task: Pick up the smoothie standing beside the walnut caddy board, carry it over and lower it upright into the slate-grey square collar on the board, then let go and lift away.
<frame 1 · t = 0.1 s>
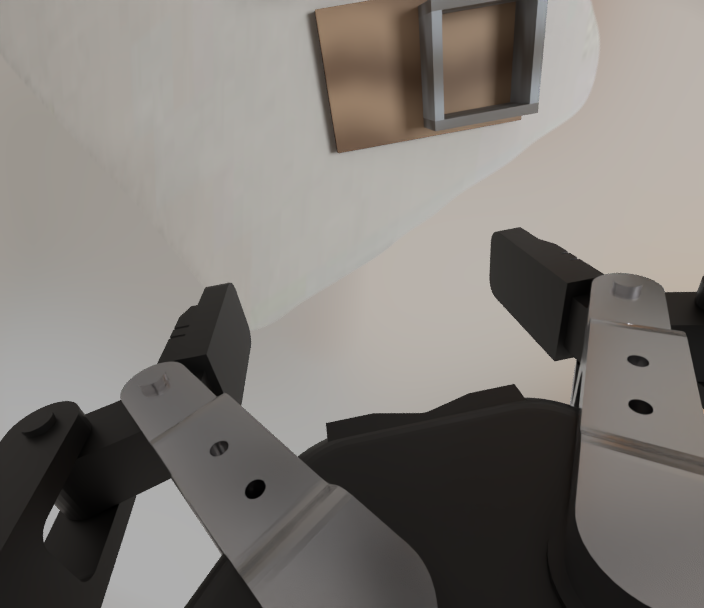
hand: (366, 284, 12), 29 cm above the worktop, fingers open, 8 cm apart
caddy: (424, 70, 35), on the worktop
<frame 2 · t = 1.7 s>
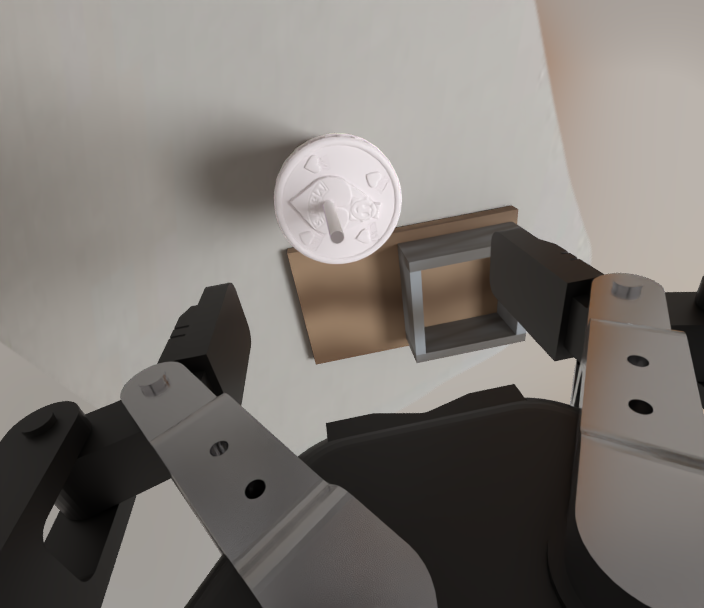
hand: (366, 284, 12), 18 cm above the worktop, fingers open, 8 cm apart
smoothie: (324, 165, 27), on the worktop
caddy: (406, 287, 33), on the worktop
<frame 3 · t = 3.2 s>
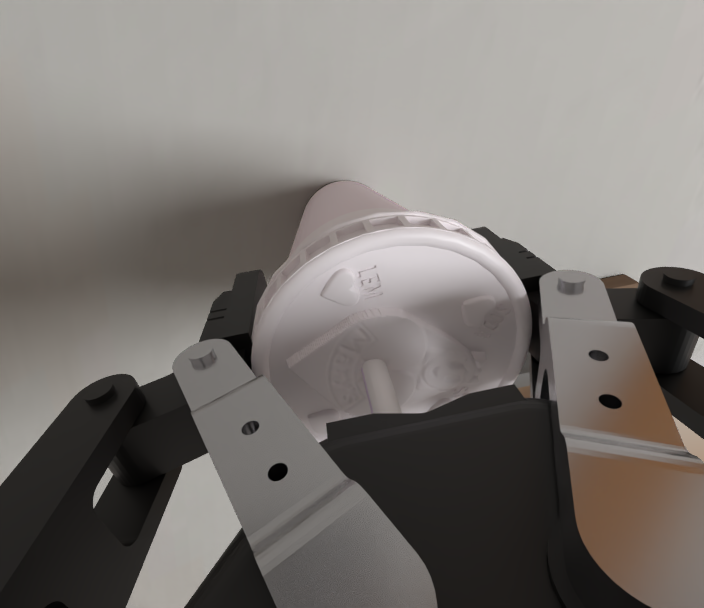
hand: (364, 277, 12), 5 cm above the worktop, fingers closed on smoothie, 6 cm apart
smoothie: (344, 222, 17), on the worktop, touching gripper
caddy: (457, 386, 23), on the worktop
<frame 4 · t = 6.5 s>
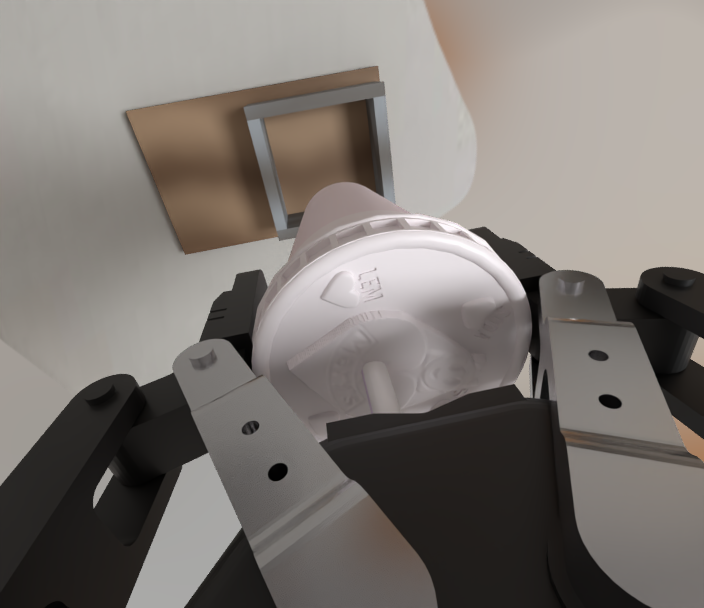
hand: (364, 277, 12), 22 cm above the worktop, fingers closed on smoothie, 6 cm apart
smoothie: (344, 223, 17), point 16 cm above the worktop, touching gripper
caddy: (273, 165, 31), on the worktop
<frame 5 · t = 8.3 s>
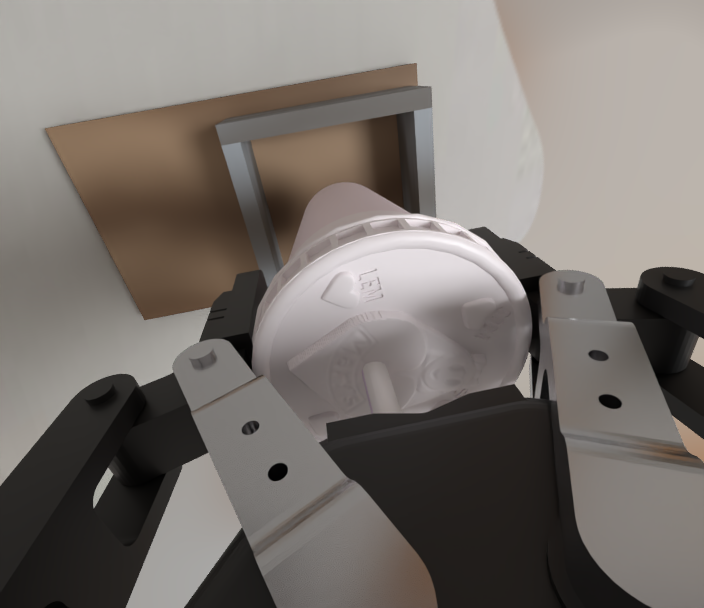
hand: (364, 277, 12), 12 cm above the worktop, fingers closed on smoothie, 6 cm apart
smoothie: (344, 223, 17), point 6 cm above the worktop, touching gripper
caddy: (265, 201, 22), on the worktop
when the fingers open (7 cm above the worktop, at t = 9.7 s): smoothie drops 1 cm, resting on caddy.
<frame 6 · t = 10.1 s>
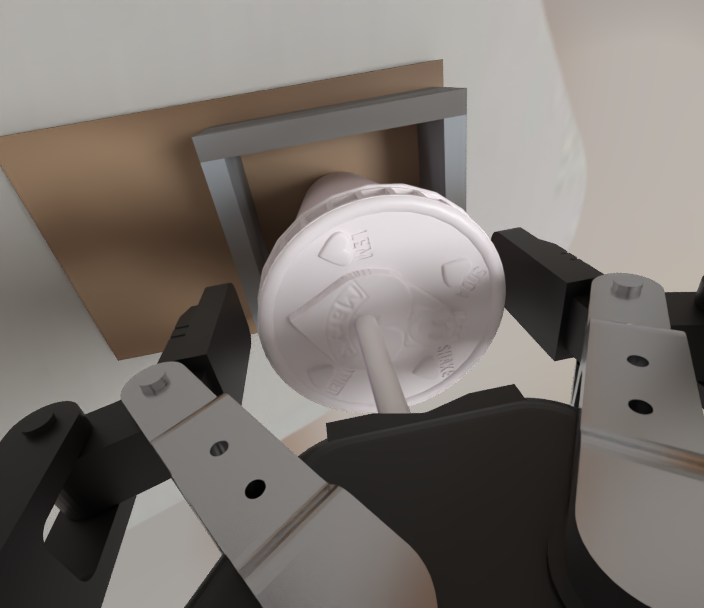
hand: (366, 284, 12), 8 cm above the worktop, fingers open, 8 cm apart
smoothie: (341, 211, 18), point 1 cm above the worktop, touching caddy
caddy: (259, 224, 19), on the worktop
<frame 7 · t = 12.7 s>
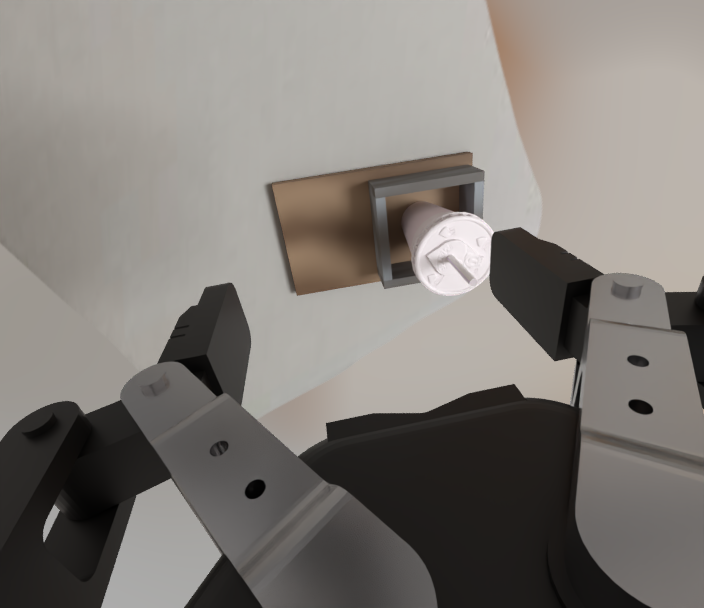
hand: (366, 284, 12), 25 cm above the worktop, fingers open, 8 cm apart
smoothie: (419, 220, 37), point 1 cm above the worktop, touching caddy
caddy: (377, 225, 37), on the worktop
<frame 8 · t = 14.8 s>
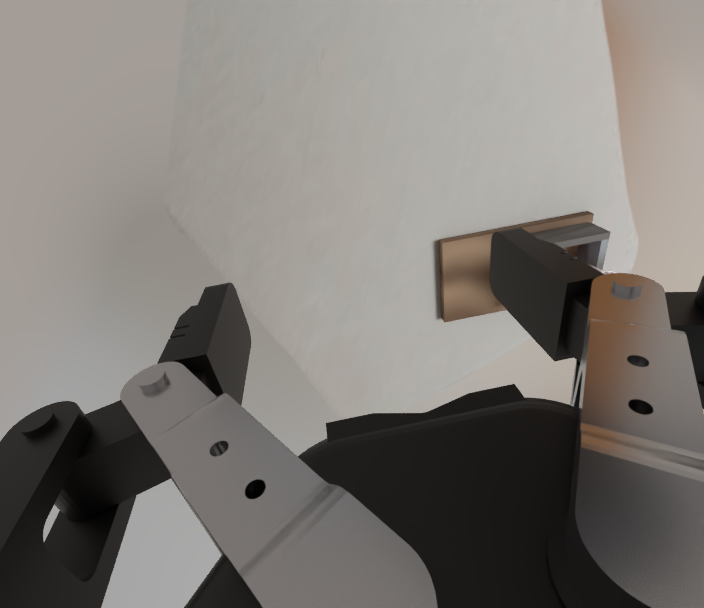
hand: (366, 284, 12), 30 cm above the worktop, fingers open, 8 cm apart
caddy: (511, 267, 48), on the worktop
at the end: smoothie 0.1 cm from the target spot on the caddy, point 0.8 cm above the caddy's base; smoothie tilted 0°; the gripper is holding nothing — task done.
